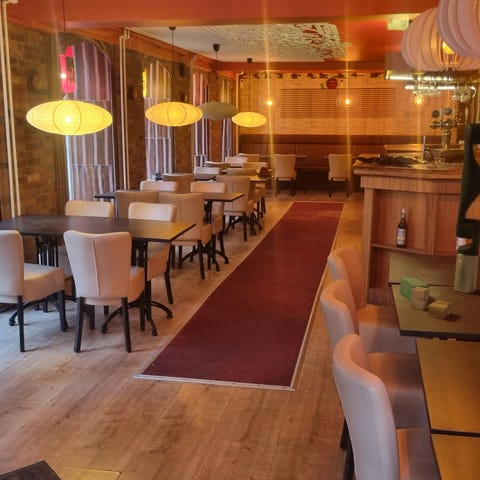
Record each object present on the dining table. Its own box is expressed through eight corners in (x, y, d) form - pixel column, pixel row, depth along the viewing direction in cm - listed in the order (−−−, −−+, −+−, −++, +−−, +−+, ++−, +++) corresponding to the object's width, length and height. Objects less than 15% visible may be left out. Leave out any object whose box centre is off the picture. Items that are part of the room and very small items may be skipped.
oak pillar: (436, 300, 249) (428, 305, 242) (451, 302, 246) (443, 308, 239) (435, 310, 250) (428, 316, 243) (450, 313, 247) (442, 319, 240)
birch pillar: (415, 304, 257) (417, 286, 256) (427, 307, 254) (428, 288, 253) (410, 307, 254) (412, 289, 252) (422, 310, 250) (423, 291, 249)
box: (412, 302, 260) (413, 285, 259) (399, 293, 274) (400, 277, 272) (428, 302, 262) (429, 285, 260) (414, 293, 275) (415, 277, 273)
